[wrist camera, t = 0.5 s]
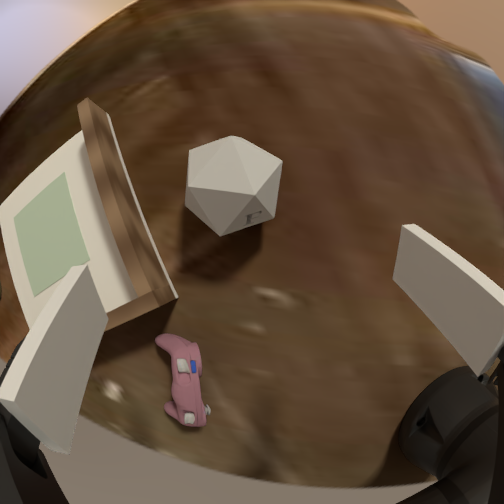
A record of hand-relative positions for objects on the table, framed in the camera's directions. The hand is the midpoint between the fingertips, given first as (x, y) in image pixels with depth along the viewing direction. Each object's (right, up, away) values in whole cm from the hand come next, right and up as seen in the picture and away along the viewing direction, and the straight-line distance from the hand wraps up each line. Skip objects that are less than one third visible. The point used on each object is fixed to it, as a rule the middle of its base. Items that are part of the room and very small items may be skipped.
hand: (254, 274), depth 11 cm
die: (-2, +7, +17) cm, 19 cm away
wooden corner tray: (-24, +2, +19) cm, 30 cm away
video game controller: (-7, -12, +18) cm, 23 cm away
